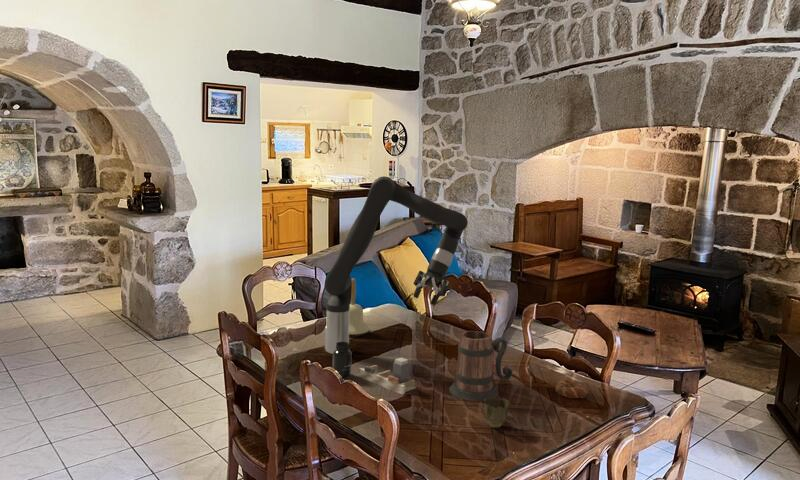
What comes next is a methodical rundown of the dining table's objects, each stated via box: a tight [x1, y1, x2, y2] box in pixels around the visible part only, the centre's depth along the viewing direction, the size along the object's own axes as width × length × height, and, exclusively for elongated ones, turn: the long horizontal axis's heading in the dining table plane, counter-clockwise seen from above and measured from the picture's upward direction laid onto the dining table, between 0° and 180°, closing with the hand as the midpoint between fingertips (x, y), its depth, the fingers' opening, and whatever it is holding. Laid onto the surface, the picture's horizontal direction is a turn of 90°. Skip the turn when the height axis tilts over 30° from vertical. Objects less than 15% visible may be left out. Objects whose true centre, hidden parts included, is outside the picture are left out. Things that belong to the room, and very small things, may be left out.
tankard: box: [448, 330, 513, 402], centre depth 203 cm, size 24×17×20 cm
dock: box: [358, 364, 416, 395], centre depth 208 cm, size 22×7×5 cm, turn 45°
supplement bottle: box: [332, 342, 353, 379], centre depth 213 cm, size 7×7×12 cm
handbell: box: [349, 277, 370, 335], centre depth 264 cm, size 15×15×25 cm
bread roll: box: [554, 379, 589, 399], centre depth 204 cm, size 12×11×4 cm
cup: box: [483, 396, 510, 429], centre depth 176 cm, size 8×7×8 cm
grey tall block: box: [392, 357, 410, 384], centre depth 204 cm, size 4×4×10 cm
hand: (423, 301), depth 223 cm, fingers open, 8 cm apart
